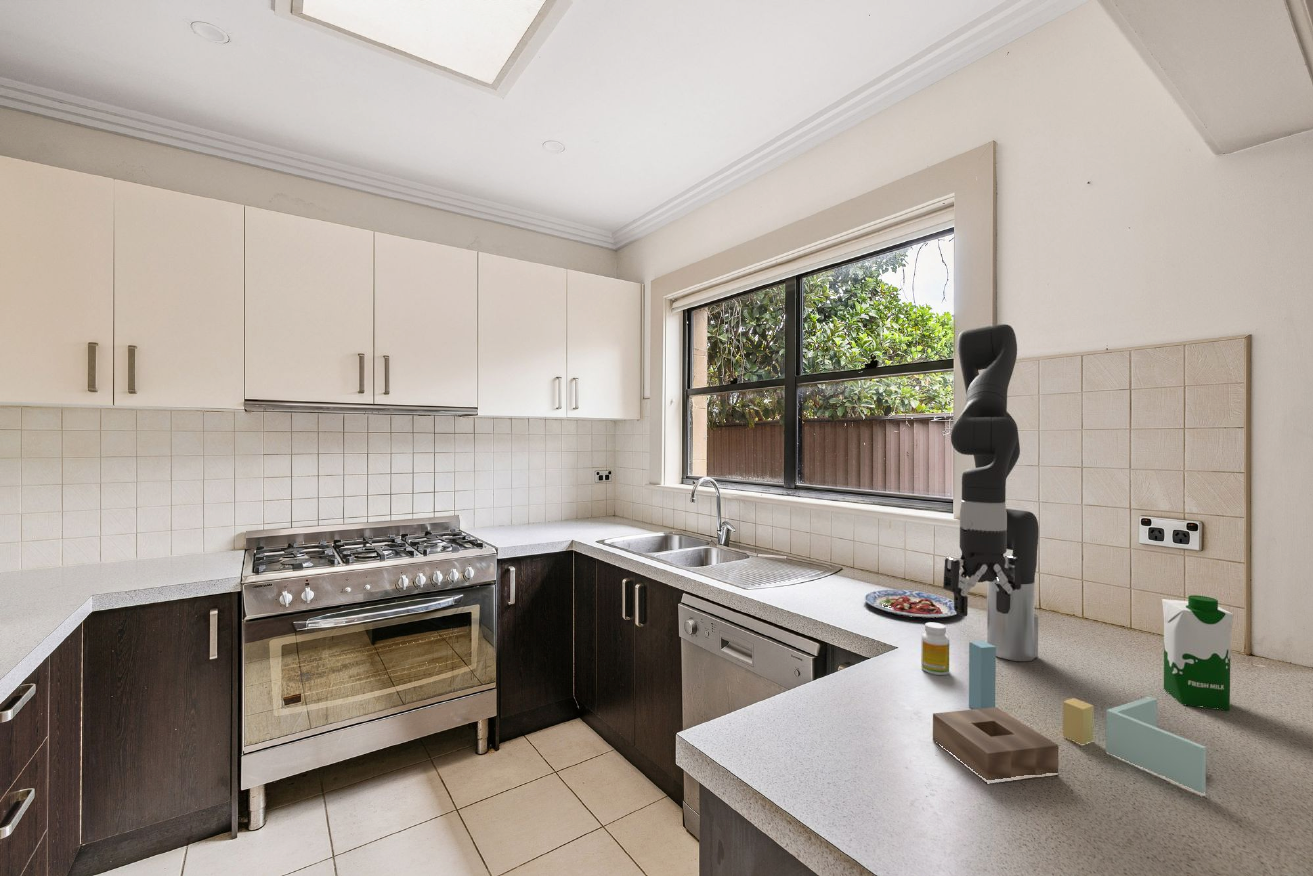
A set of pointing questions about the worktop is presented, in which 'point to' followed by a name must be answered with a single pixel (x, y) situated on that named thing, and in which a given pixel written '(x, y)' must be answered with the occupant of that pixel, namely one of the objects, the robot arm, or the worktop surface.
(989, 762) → the hole block
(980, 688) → the long peg
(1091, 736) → the short peg
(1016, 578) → the robot arm
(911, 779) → the worktop surface
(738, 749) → the worktop surface
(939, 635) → the supplement bottle
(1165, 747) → the l-shaped corner panel
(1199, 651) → the milk carton
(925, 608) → the ceramic plate
